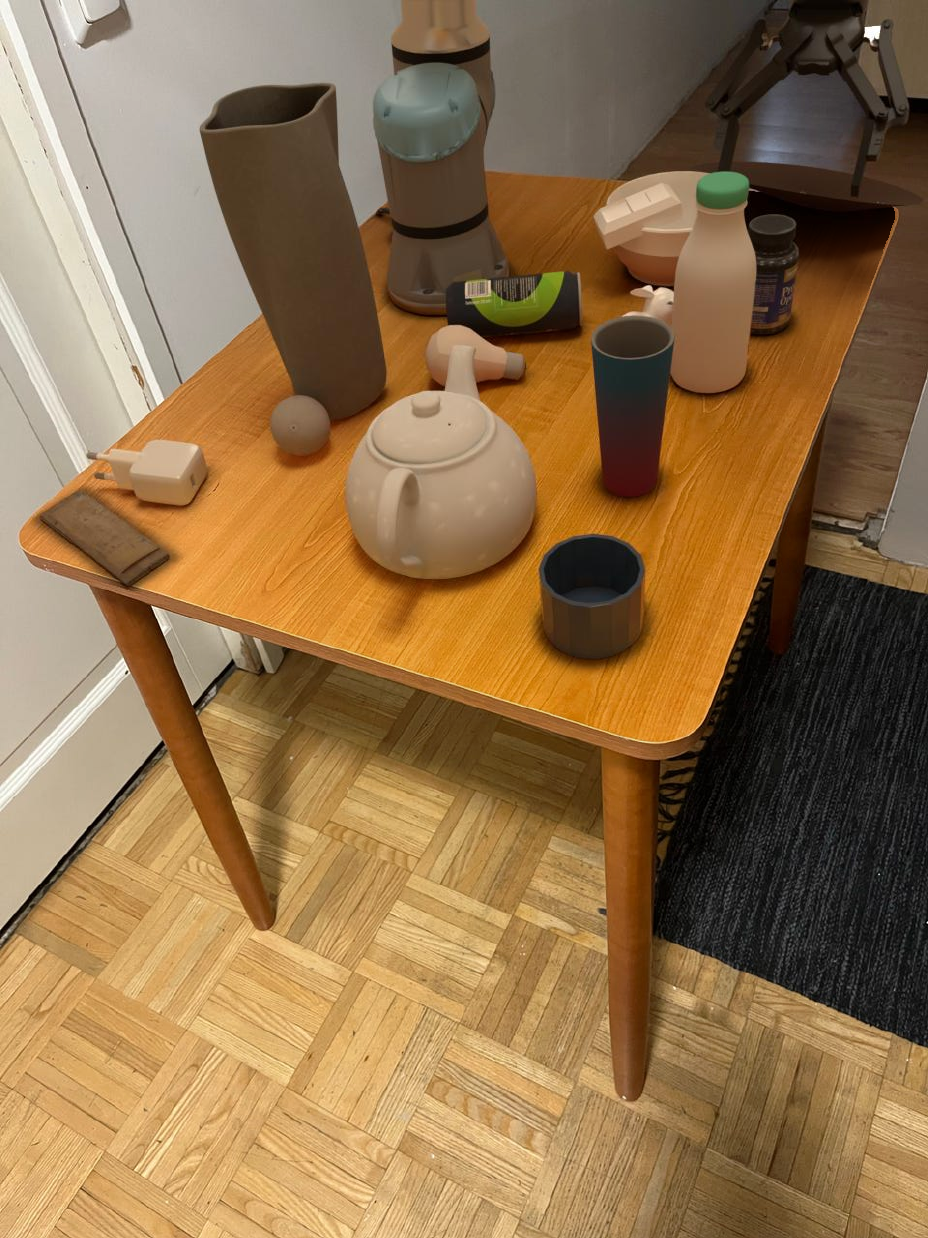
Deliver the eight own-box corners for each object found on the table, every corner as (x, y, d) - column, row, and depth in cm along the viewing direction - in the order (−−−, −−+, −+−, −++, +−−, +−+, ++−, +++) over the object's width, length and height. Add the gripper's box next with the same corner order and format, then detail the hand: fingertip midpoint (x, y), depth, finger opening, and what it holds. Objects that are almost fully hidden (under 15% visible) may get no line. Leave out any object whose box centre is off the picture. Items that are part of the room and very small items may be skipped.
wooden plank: (83, 494, 98) (42, 522, 96) (78, 485, 97) (35, 512, 95) (171, 557, 88) (127, 589, 86) (166, 547, 87) (121, 579, 85)
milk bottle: (745, 396, 96) (768, 197, 81) (667, 394, 97) (676, 200, 83) (745, 354, 101) (767, 160, 86) (671, 354, 102) (681, 163, 88)
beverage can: (448, 343, 106) (583, 331, 105) (443, 285, 104) (580, 271, 102) (453, 335, 112) (581, 324, 110) (448, 280, 110) (578, 267, 108)
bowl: (765, 251, 115) (773, 185, 109) (693, 310, 108) (698, 242, 102) (653, 223, 123) (655, 161, 118) (579, 276, 116) (578, 212, 110)
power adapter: (112, 463, 99) (86, 499, 95) (98, 425, 96) (71, 461, 92) (212, 475, 98) (190, 513, 94) (202, 437, 94) (179, 475, 90)
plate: (722, 156, 134) (732, 128, 132) (918, 218, 126) (932, 189, 124) (663, 174, 113) (673, 141, 110) (895, 250, 105) (911, 216, 103)
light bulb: (533, 323, 101) (431, 306, 100) (532, 367, 97) (426, 350, 96) (520, 368, 106) (423, 353, 105) (519, 411, 103) (418, 396, 102)
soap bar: (683, 217, 106) (679, 195, 104) (606, 249, 107) (601, 228, 105) (671, 199, 109) (667, 177, 107) (597, 230, 110) (591, 209, 109)
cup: (673, 462, 90) (681, 317, 79) (659, 508, 86) (666, 362, 75) (602, 454, 92) (601, 312, 81) (585, 498, 88) (581, 355, 77)
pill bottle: (787, 337, 102) (802, 238, 94) (729, 335, 104) (739, 237, 96) (790, 308, 106) (805, 210, 98) (734, 306, 108) (744, 210, 100)
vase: (411, 371, 106) (359, 77, 84) (371, 437, 98) (302, 131, 76) (311, 364, 109) (237, 79, 87) (265, 426, 101) (171, 131, 80)
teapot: (314, 512, 91) (278, 390, 81) (480, 440, 96) (465, 317, 86) (401, 630, 79) (371, 504, 69) (585, 541, 84) (582, 411, 74)
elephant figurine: (692, 265, 95) (678, 250, 100) (588, 331, 98) (579, 314, 104) (722, 326, 99) (706, 309, 104) (620, 388, 102) (610, 368, 107)
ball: (318, 463, 100) (345, 413, 98) (305, 470, 94) (334, 417, 92) (268, 432, 99) (295, 382, 98) (252, 437, 93) (281, 384, 92)
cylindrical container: (525, 611, 79) (520, 558, 74) (607, 574, 81) (607, 520, 76) (576, 674, 73) (573, 621, 69) (662, 633, 75) (665, 579, 71)
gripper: (963, -3, 96) (911, 209, 98) (717, 0, 105) (674, 194, 107) (973, -51, 89) (917, 178, 91) (708, -44, 98) (663, 165, 100)
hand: (786, 187), depth 99 cm, fingers open, 13 cm apart
